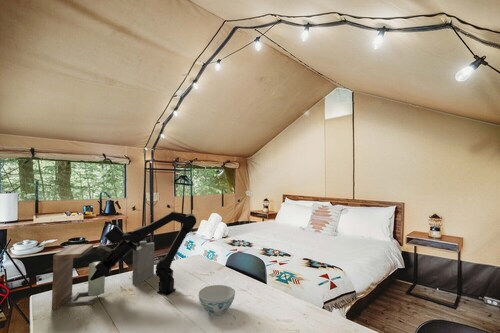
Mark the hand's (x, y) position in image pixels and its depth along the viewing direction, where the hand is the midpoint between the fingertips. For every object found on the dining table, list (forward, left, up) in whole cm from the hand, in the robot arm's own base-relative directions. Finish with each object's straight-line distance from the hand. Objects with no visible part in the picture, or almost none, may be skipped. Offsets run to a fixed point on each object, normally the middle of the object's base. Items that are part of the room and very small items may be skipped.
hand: (93, 277), depth 119 cm
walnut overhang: (+5, +3, -10) cm, 11 cm away
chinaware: (-57, -11, -10) cm, 59 cm away
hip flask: (-4, -26, -10) cm, 28 cm away
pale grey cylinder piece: (-1, -1, -7) cm, 7 cm away
